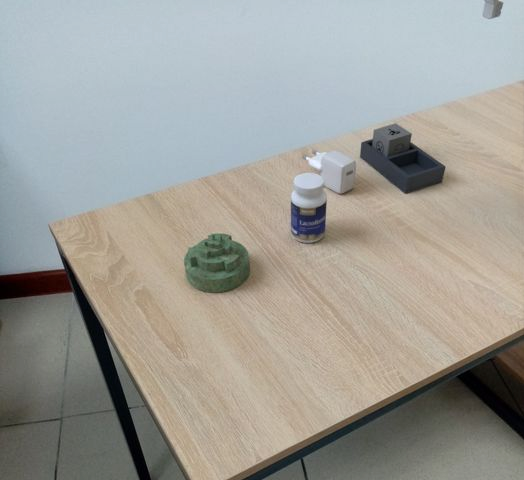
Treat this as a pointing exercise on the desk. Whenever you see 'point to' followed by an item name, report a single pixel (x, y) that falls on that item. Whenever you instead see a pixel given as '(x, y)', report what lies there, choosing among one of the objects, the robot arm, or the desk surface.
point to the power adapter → (334, 169)
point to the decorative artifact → (217, 264)
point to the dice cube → (391, 140)
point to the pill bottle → (308, 208)
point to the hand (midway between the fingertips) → (518, 10)
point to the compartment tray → (405, 167)
